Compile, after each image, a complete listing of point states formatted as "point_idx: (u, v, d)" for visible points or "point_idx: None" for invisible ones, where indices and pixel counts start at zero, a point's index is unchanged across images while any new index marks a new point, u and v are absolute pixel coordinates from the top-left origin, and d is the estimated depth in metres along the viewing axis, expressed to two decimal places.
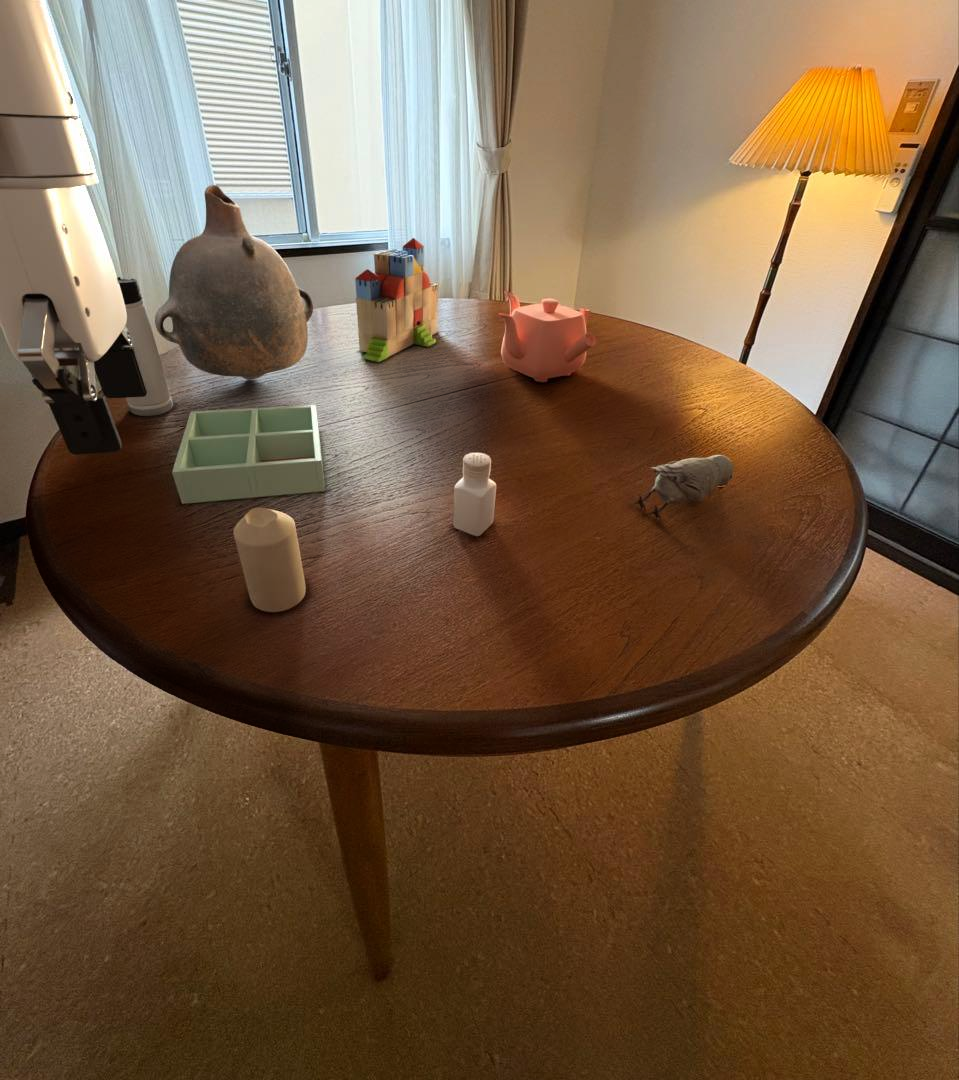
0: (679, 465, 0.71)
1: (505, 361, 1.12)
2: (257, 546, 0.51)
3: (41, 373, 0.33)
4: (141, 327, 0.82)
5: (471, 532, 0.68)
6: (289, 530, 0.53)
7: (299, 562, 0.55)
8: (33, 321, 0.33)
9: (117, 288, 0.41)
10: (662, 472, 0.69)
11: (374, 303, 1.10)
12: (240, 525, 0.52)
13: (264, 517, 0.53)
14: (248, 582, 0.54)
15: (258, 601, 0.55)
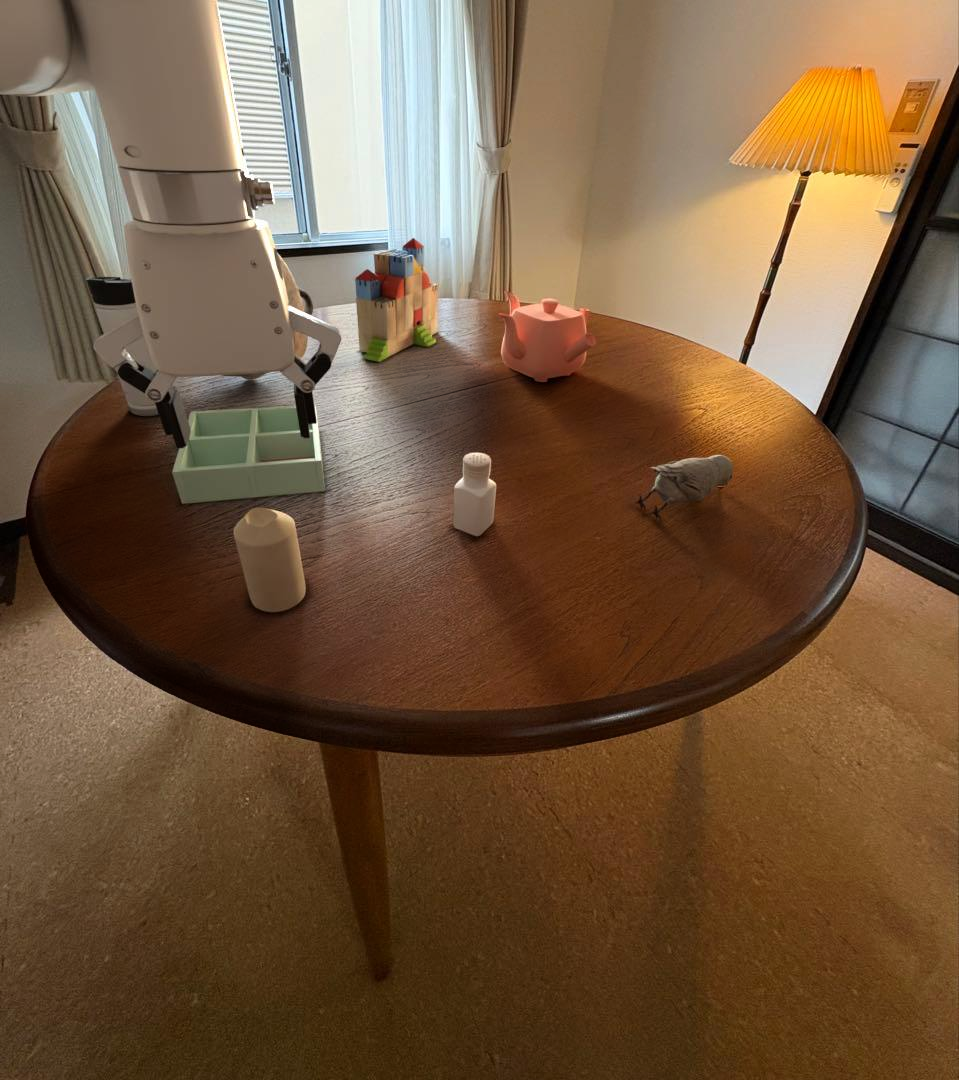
0: (679, 465, 0.71)
1: (505, 361, 1.12)
2: (257, 546, 0.51)
3: None
4: None
5: (471, 532, 0.68)
6: (289, 530, 0.53)
7: (299, 562, 0.55)
8: (121, 324, 0.40)
9: (265, 336, 0.41)
10: (662, 472, 0.69)
11: (374, 303, 1.10)
12: (240, 525, 0.52)
13: (264, 517, 0.53)
14: (248, 582, 0.54)
15: (258, 601, 0.55)
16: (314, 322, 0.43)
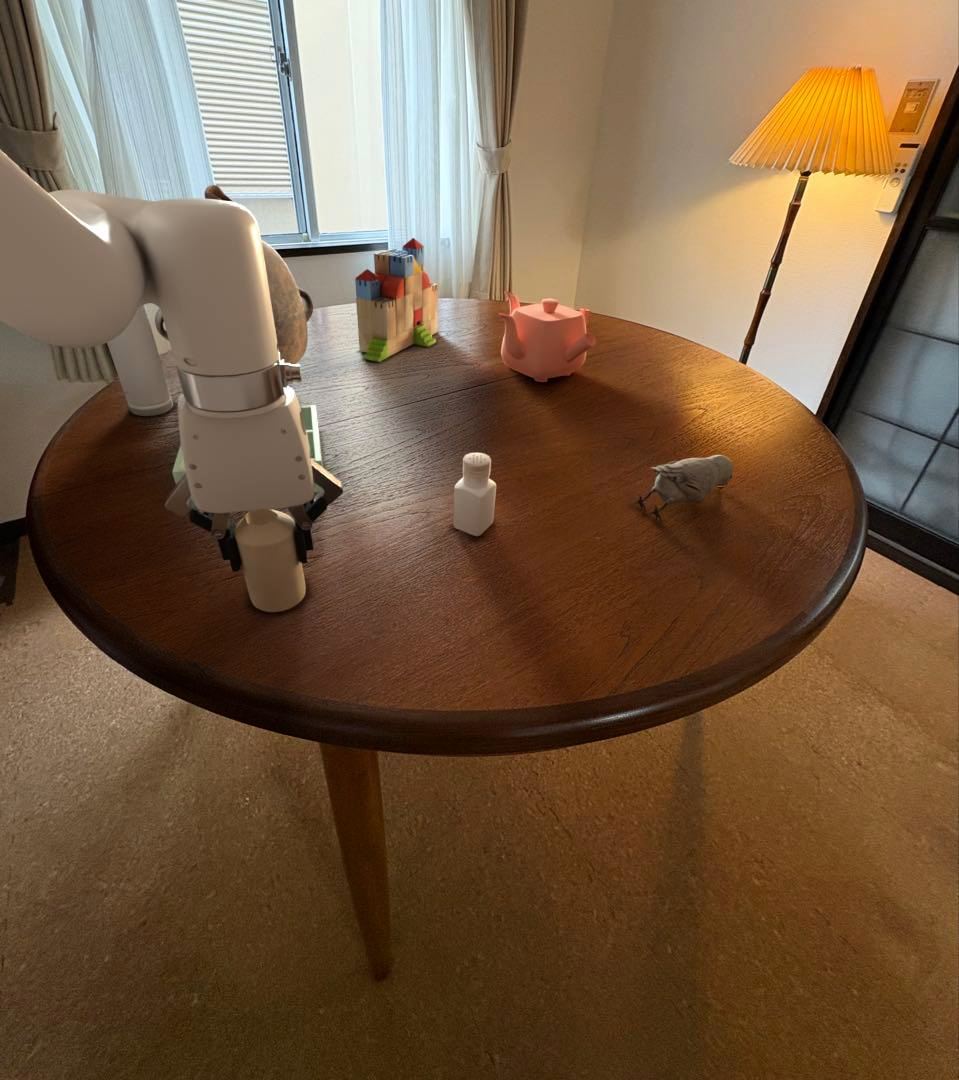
0: (679, 465, 0.71)
1: (505, 361, 1.12)
2: (257, 546, 0.51)
3: None
4: (141, 327, 0.82)
5: (471, 532, 0.68)
6: (289, 530, 0.53)
7: (299, 562, 0.55)
8: (179, 483, 0.48)
9: (290, 482, 0.48)
10: (662, 472, 0.69)
11: (374, 303, 1.10)
12: (240, 525, 0.52)
13: (265, 516, 0.53)
14: (248, 582, 0.54)
15: (258, 601, 0.55)
16: (326, 476, 0.51)
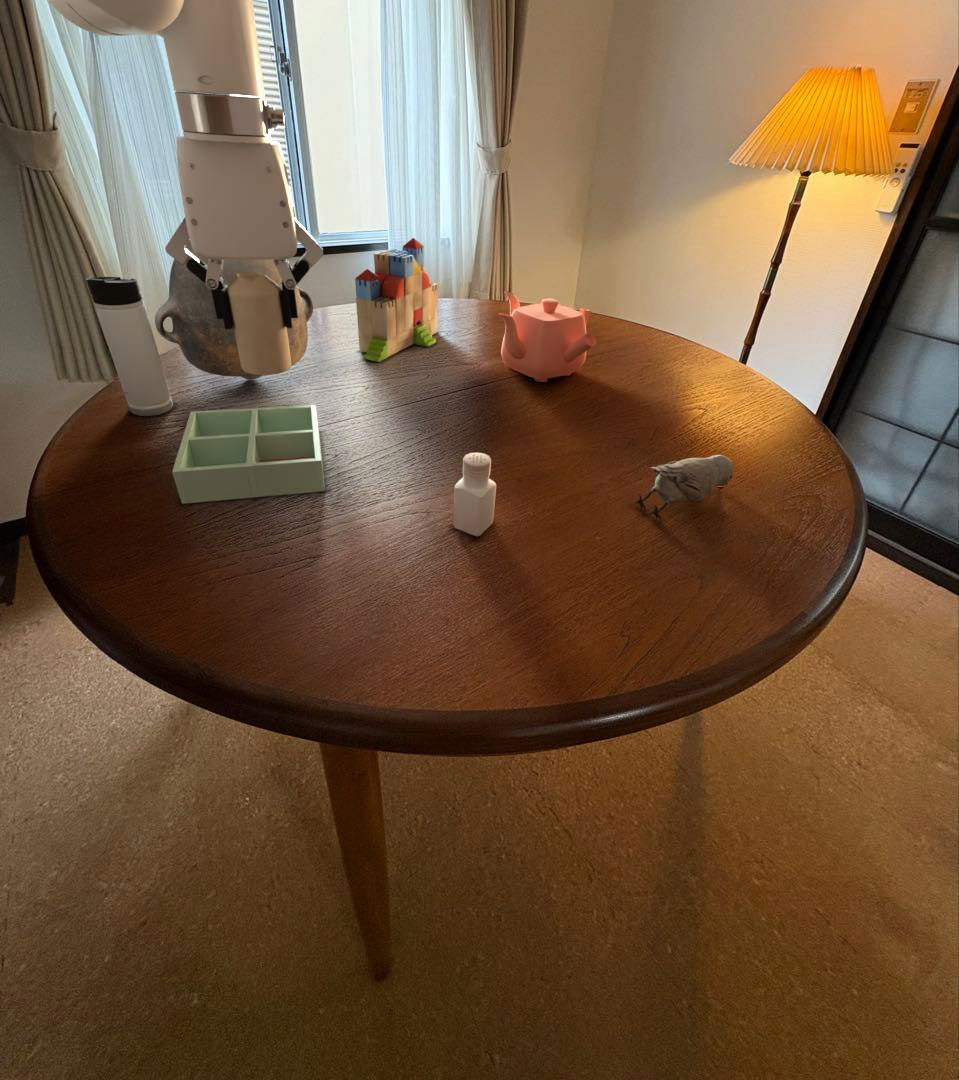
0: (679, 465, 0.71)
1: (505, 361, 1.12)
2: (246, 296, 0.58)
3: None
4: (141, 327, 0.82)
5: (471, 532, 0.68)
6: (275, 289, 0.59)
7: (285, 329, 0.62)
8: None
9: (275, 228, 0.55)
10: (662, 472, 0.69)
11: (374, 303, 1.10)
12: (232, 281, 0.58)
13: (254, 279, 0.60)
14: (239, 342, 0.61)
15: (248, 363, 0.62)
16: (307, 234, 0.58)
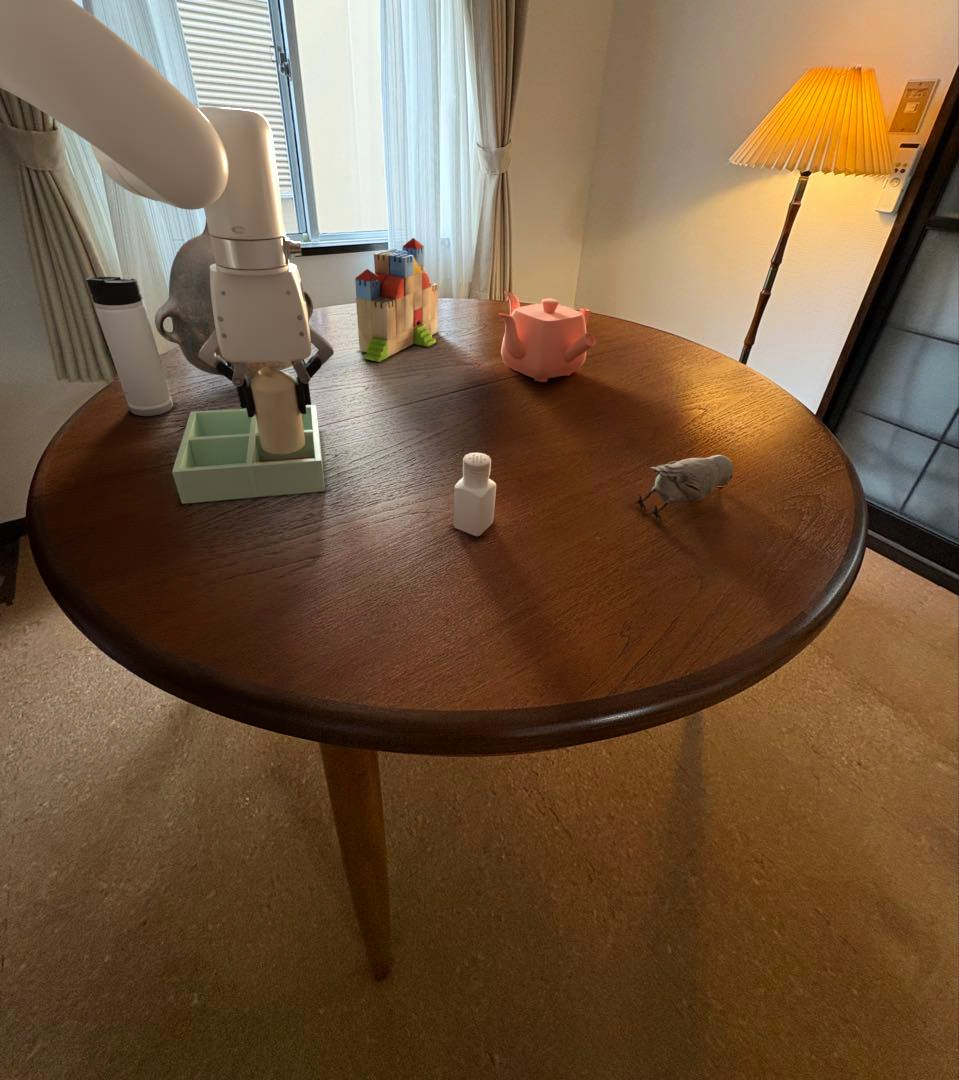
0: (679, 465, 0.71)
1: (505, 361, 1.12)
2: (267, 392, 0.66)
3: None
4: (141, 327, 0.82)
5: (471, 532, 0.68)
6: (292, 383, 0.68)
7: (300, 414, 0.71)
8: (209, 337, 0.64)
9: (293, 337, 0.64)
10: (662, 472, 0.69)
11: (374, 303, 1.10)
12: (254, 378, 0.67)
13: (273, 374, 0.69)
14: (260, 427, 0.70)
15: (268, 444, 0.71)
16: (320, 338, 0.66)
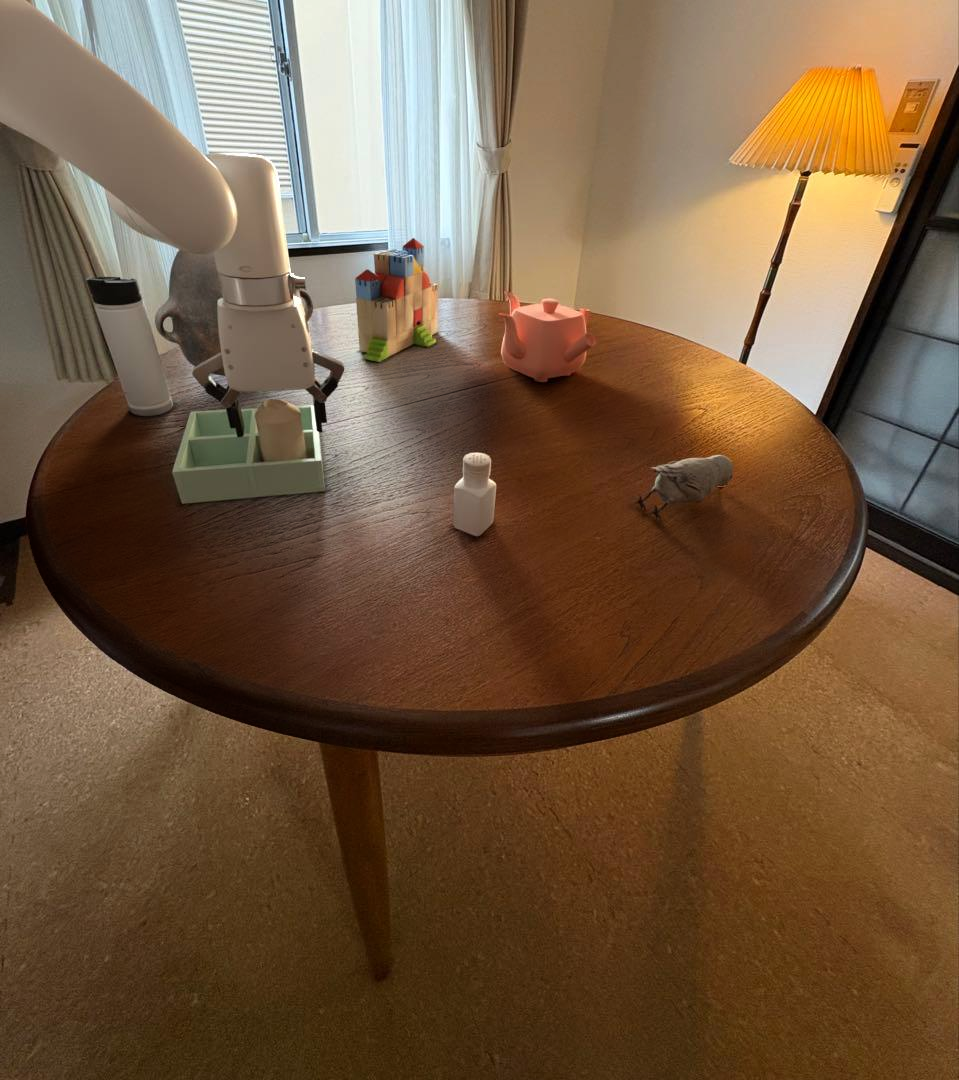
0: (679, 465, 0.71)
1: (505, 361, 1.12)
2: (272, 423, 0.69)
3: None
4: (141, 327, 0.82)
5: (471, 532, 0.68)
6: (296, 414, 0.70)
7: (303, 443, 0.73)
8: (209, 359, 0.65)
9: (297, 368, 0.66)
10: (662, 472, 0.69)
11: (374, 303, 1.10)
12: (260, 409, 0.70)
13: (277, 405, 0.71)
14: (265, 456, 0.72)
15: None
16: (327, 359, 0.68)
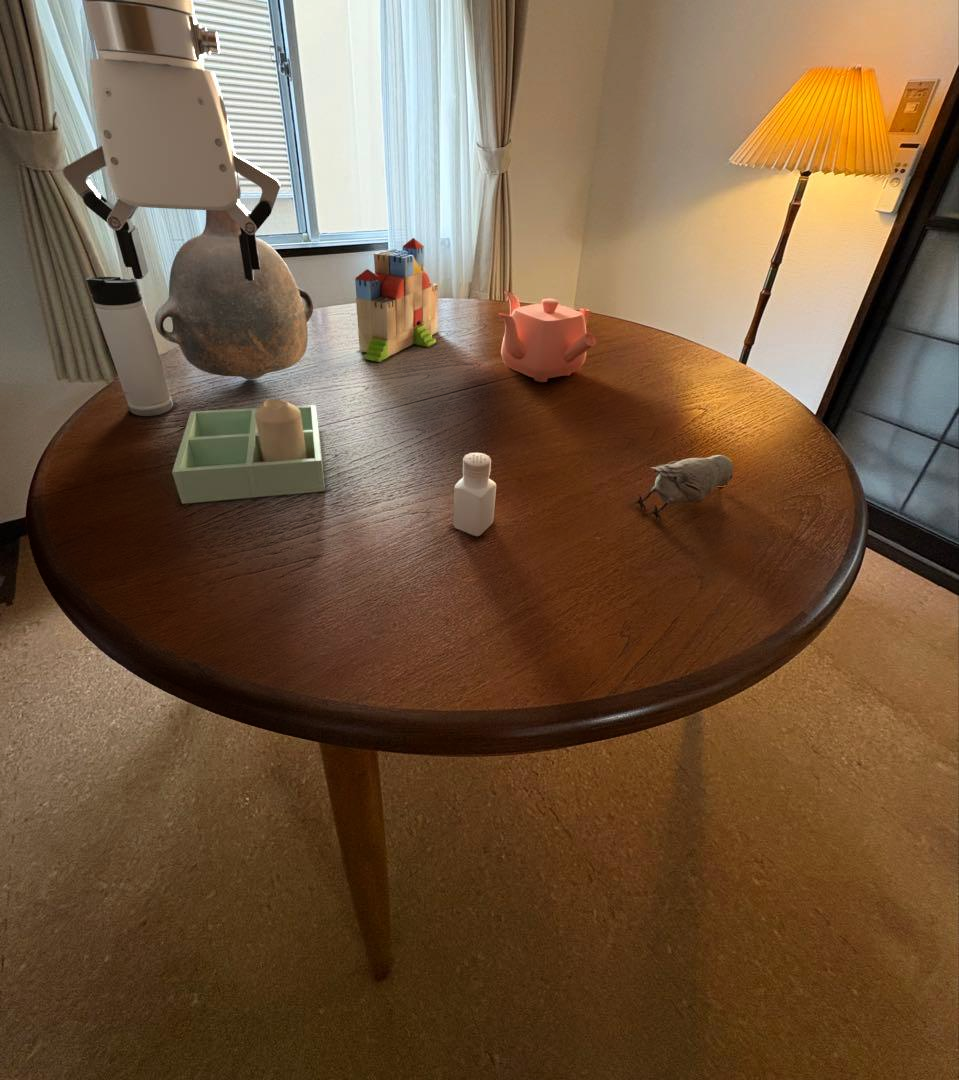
0: (679, 465, 0.71)
1: (505, 361, 1.12)
2: (272, 424, 0.69)
3: None
4: (141, 327, 0.82)
5: (471, 532, 0.68)
6: (296, 414, 0.70)
7: (303, 443, 0.73)
8: None
9: (211, 171, 0.48)
10: (662, 472, 0.69)
11: (374, 303, 1.10)
12: (260, 409, 0.70)
13: (278, 405, 0.71)
14: (265, 456, 0.72)
15: None
16: (255, 168, 0.50)
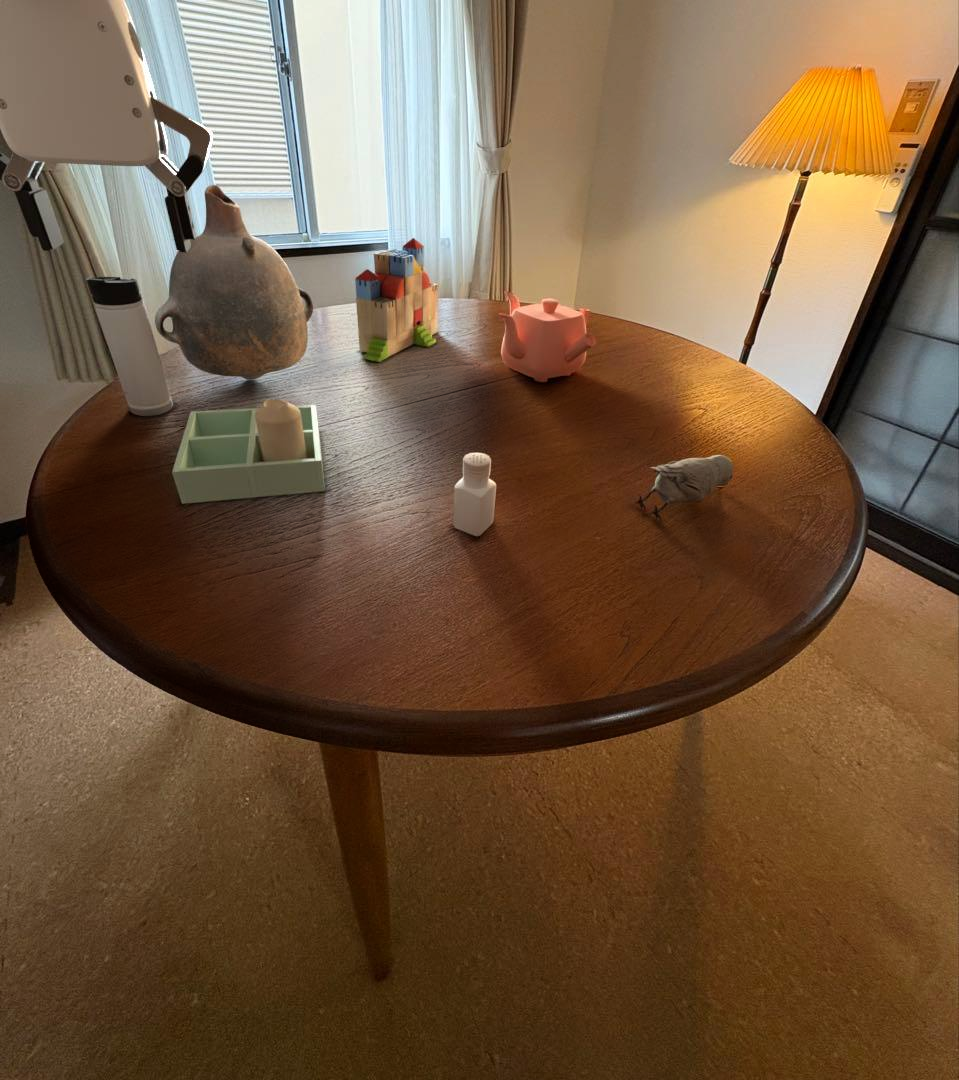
0: (679, 465, 0.71)
1: (505, 361, 1.12)
2: (272, 424, 0.69)
3: None
4: (141, 327, 0.82)
5: (471, 532, 0.68)
6: (296, 414, 0.70)
7: (303, 443, 0.73)
8: None
9: (122, 117, 0.40)
10: (662, 472, 0.69)
11: (374, 303, 1.10)
12: (260, 409, 0.70)
13: (278, 405, 0.71)
14: (265, 456, 0.72)
15: None
16: (180, 114, 0.42)
